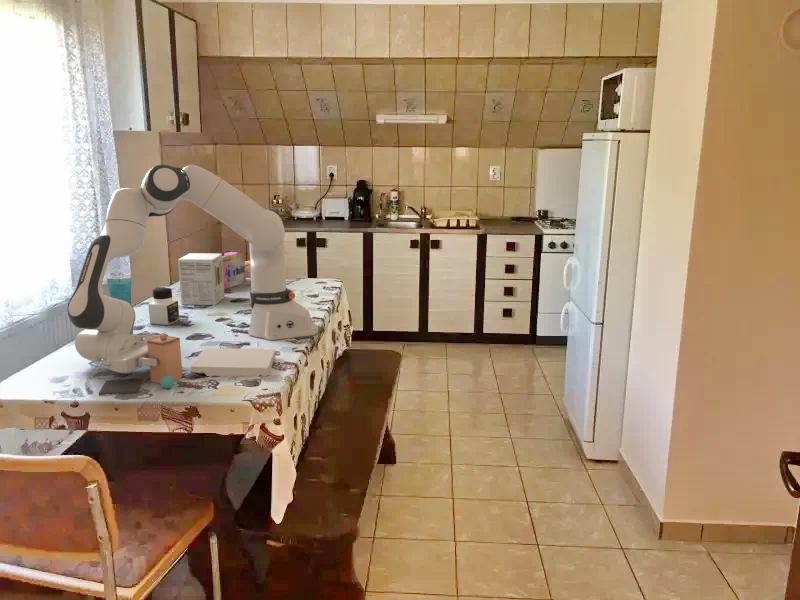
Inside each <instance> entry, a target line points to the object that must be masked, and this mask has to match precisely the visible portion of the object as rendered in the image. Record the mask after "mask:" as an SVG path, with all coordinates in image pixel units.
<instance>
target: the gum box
mask: <svg viewBox="0 0 800 600" xmlns="http://www.w3.org/2000/svg"><path fill="white" fill-rule="evenodd" d="M217 254H222V263H223V280H224V290H227V289H229V288H232V287H235V286H238V285H241V284H245V283H246V282H247V281H246V279H247V278H246V275H247V274H246V263H245V262H246V259H245V258H246V257H245V251H244V250H243V251H241V250H232V249H231V250H225V251H221V252H217Z"/></svg>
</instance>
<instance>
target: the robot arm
mask: <svg viewBox="0 0 800 600" xmlns="http://www.w3.org/2000/svg"><path fill="white" fill-rule="evenodd" d="M180 201H187V202H190V203H193V204H194V205H195V206H196V207H198V208H200V209H201V210H203V211H204V212H206V213H207V214H209V215H210V216H212V217H213V218H215V219H217V220H218V221H220V222H221V223H223V224H224V225H226V226H227V227H229V228H230V230H232V231H233V232H235V233H236V234H238V235H239V236H240V237H241V238H243V239H244V240H246V241H247V242H248V245H249V262H250V263H249V267H250V286H251V287H250V290H249V291H250V292H249V303H250V308H251V314H250V315H251V316H250V323H249V326H248V327H249V328H248V332H247V333H248V335H250V336H252V337H256V338H260V339H265V340H267V341H275V340H284V339H290V338H292V339H294V338H301V337H309V336H315V335H316V334H319V326H318V324H317V323H316V322H313V321H312V317H311V314H310V312H309V310H308V309H307V308H306V307H304V306H303V305H302V304H300V303H298V301H295V300H294V299H295V297H296V295H295V292H294V291H293V290H291V288H287V270H286V269H287V267H286V256H285V255H286V254H285V252H286V251H285V236H286V232H285V231H286V230H285V227H284V222H283V220H282V218H281V216H280V215H279V214H278V213H276V212H275V211H272V210H270V209H265V208H264V207H262V206H261V205H260V204H258V203H257V202H256V201H255V200H253V199H252V198H250V197H249V196H248V195H246V194H245V193H244V192H243V191H241V190H239V189H238V188H236V187H235V186H233V185H232V184H230V183H229V182H227V181H226V180H224V179H223V178H221V177H219V176H218V175H216V174H215V173H213V172H212V171H210V170H207V169H205V168H203V167H201V166H198V165H197V164H196V165H195V164H189V165H186V166H184V167H183V168H181V167H175V166H173V165H169V164H158V165H155V166H153V167H151V168H150V169H149V170H148V171H147V172H146V174H145V176H144V178H143V180H142V182H141V185H140V187H139V188H131V187H130V188H129V187H123V188H118V189H116V190H115V191H114V192H113V193H112V194H111V198H110V200H109V203H108V206H107V209H106V212H105V213H106V214H105V217H104V223H103V229H102V231H101V233H100V235H96V237H94V238H93V240H92V241H91V243H90V245H89V247H88V250H87V254H85V255H86V256H85V259H84V262H83V264H82V268H81V272H80V275H79V278H78V281H77V284H76V287H75V289H74V291H73V293H72V295H71V297H70V299H69V301H68V304H67V309H66V310H67V311H66V312H67V316H68V318H69V320H70V322H71V324H72V325H73V326H74V327H76V328H79V329H83V330H81V331H79V333H77V335H76V337H75V339H74V347H75V349H76V352H77V353H78V354H79V356H80V357H82V358H83V359H86V360H88V361H91V362H95V363H97V364H98V363H99V364H100V366H104V367H107V368H108V370H110V371H112V372H115V373H119V374H127V373H130V372H133V371H136V370H137V369H140V368H142V367H143V368H144V367H149V366H157V365H159V364H160V362H159V361H160V360H159V358H155V357H154V358H149V356H148V345H147V341H149V340H151V339H154V338H157V337H159V336H160V335H161V334H155V333H154V332H152V331H145V332H140V333H133V334H130V333H131V331H132V329H133V330H134V326H135V323H136V312H135V309H134V306H133V304H132V303H131V304H130V303H128V302H126V301H123V300H120V299H116V298H112V297H110V295H109V296H108V295H105V294H103V293H102V285H103V282H104V278H105V275H106V272H107V269H108V268H107V267H108V266H109V263H110V262H111V261H112V260H113V259H115V258H116V259H117V258H125V257H129V256H133V255H135V254H136V253H138V252H139V251H141V249H142V248H143V245H144V244H145V241H146V233H147V225H148V219H149V217H151V218H152V217H163V216H166V215H169V214H170V213H171V212H172V211H173V210H174V208H175V207H176V206H177V204H178V203H179V202H180Z"/></svg>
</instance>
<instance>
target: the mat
mask: <svg viewBox="0 0 800 600" xmlns="http://www.w3.org/2000/svg"><path fill="white" fill-rule="evenodd" d="M143 382H144V377H135V378H134V377H133V378H132V377H131V378H118V379H117V378H116V379H106V380H105V381H104V383H103V384H102V387H101V389H100V390H99V392H98V396H106V395H105V394H110V395H117V394H116V393H124V394H137V393H138V392H139V391H140V388H141V387H142V383H143Z"/></svg>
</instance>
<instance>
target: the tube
mask: <svg viewBox="0 0 800 600" xmlns="http://www.w3.org/2000/svg"><path fill="white" fill-rule="evenodd" d="M106 282H107V287H108V291H109V297H112V298H116V299H120V300H123V301H126V302H128V303H130V304H131V305H132V278H106ZM130 334H134V328H133V329H132V331H131V333H130Z"/></svg>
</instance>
